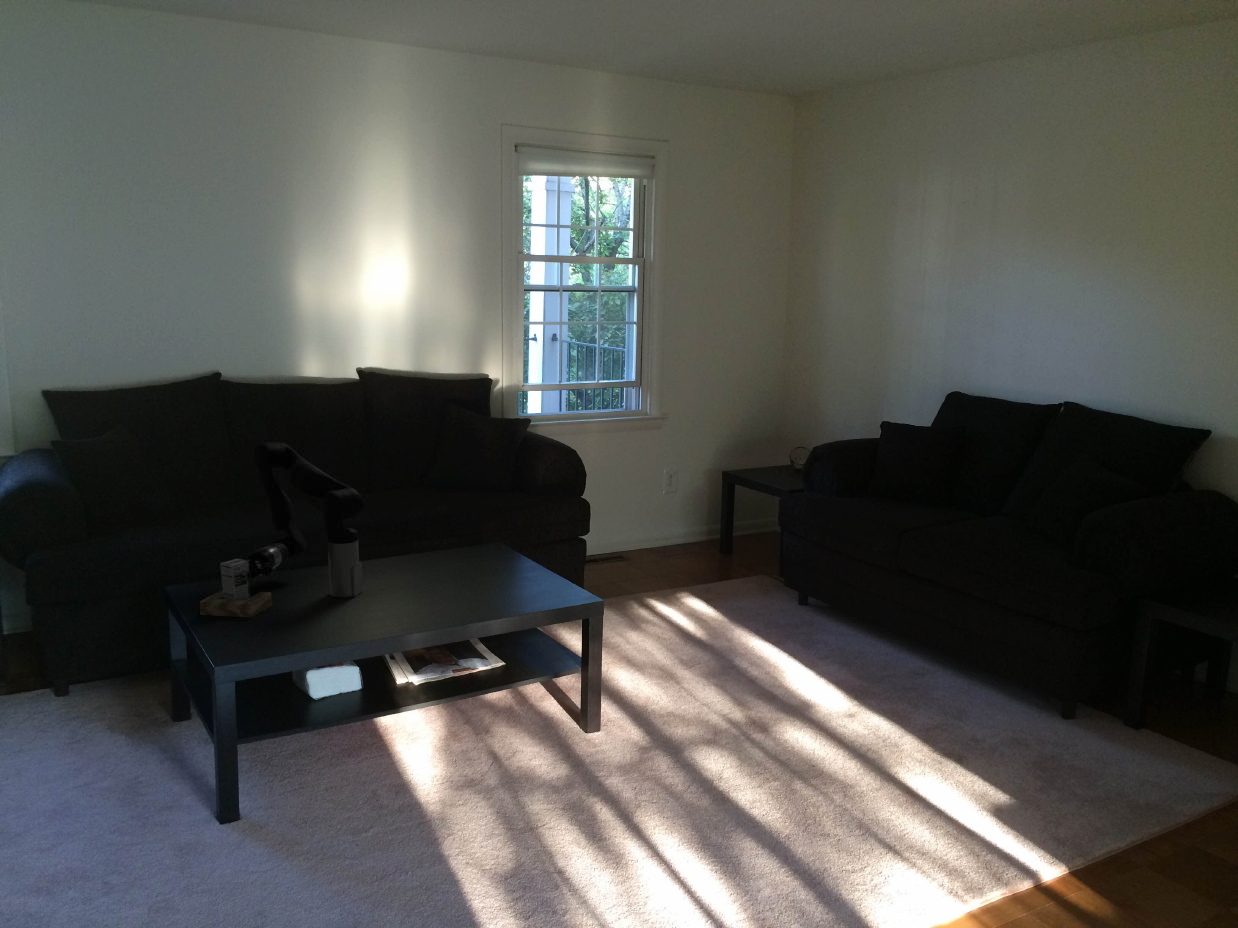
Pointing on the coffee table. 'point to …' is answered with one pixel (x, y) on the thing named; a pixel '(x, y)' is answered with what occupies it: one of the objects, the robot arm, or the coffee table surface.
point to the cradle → (235, 605)
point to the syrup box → (236, 580)
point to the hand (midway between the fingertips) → (237, 574)
